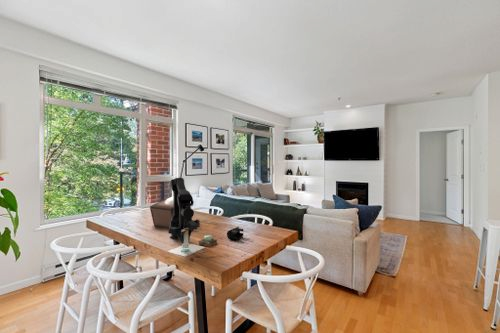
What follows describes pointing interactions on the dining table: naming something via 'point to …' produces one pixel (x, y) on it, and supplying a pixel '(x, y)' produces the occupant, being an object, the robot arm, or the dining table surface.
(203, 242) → the button housing
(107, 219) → the dining table surface
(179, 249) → the paper
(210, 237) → the button
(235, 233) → the end cap
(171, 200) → the tissue box
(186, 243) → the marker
